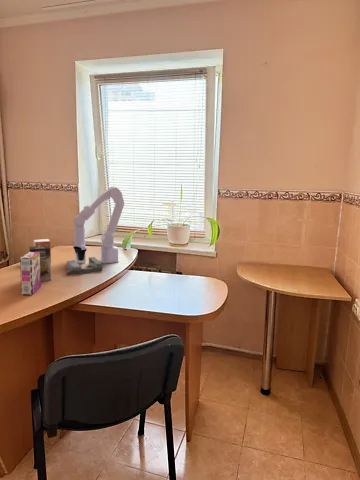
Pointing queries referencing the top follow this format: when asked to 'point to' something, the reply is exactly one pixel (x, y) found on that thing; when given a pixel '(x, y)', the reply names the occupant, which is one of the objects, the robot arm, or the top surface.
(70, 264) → the grey rectangular bar
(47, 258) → the coffee box
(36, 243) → the small box
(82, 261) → the steel block
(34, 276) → the candy bar box
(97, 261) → the vise
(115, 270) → the top surface
